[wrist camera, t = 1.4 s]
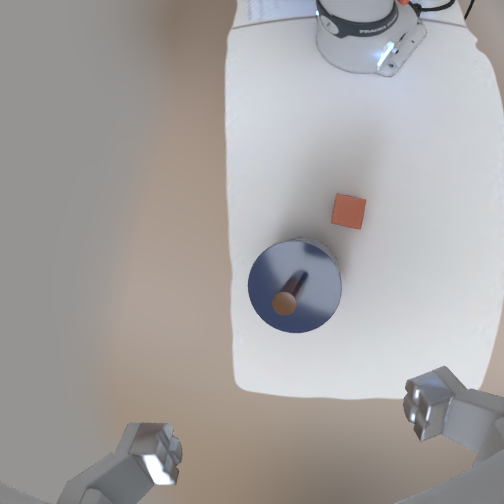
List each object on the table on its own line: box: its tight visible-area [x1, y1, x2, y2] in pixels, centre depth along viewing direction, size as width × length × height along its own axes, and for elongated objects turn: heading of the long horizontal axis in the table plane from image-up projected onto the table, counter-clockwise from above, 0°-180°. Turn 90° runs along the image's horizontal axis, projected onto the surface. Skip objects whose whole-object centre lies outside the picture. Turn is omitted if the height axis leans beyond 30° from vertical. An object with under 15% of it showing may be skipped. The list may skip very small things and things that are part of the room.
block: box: [331, 193, 366, 229], centre depth 43 cm, size 4×4×10 cm
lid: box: [248, 241, 342, 333], centre depth 37 cm, size 13×13×8 cm
